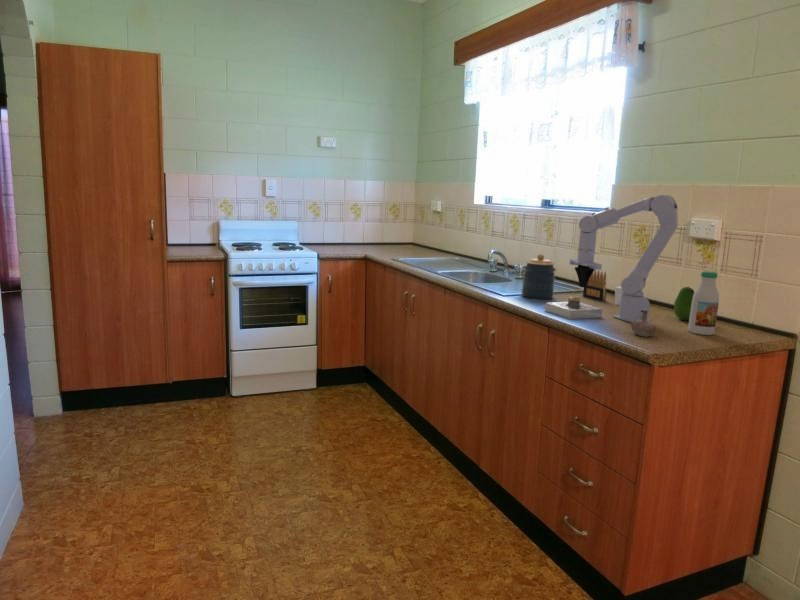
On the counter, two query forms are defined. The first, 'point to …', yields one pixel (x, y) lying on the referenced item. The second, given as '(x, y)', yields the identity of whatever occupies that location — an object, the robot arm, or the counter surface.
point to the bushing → (574, 302)
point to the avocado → (684, 303)
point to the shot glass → (618, 294)
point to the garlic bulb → (643, 326)
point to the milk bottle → (704, 305)
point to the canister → (538, 278)
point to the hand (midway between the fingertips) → (582, 286)
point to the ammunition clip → (596, 287)
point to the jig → (573, 310)
